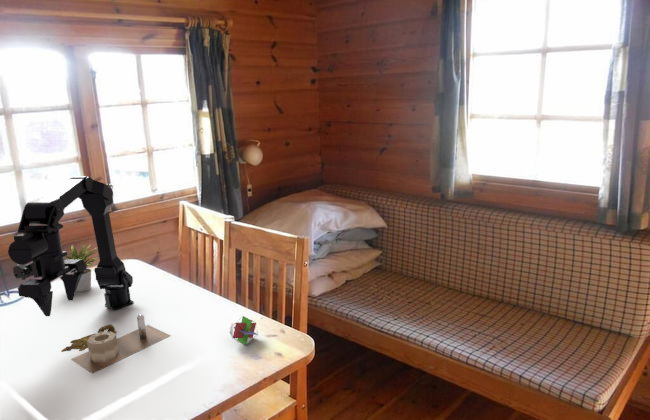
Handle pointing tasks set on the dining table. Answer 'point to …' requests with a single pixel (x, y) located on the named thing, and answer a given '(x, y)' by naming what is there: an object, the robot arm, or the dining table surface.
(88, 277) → the house plant
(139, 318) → the steel post
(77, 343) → the olive gold carved ornament
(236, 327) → the geometric puzzle
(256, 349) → the dining table surface
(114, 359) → the board
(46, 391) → the dining table surface
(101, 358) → the beech bead
